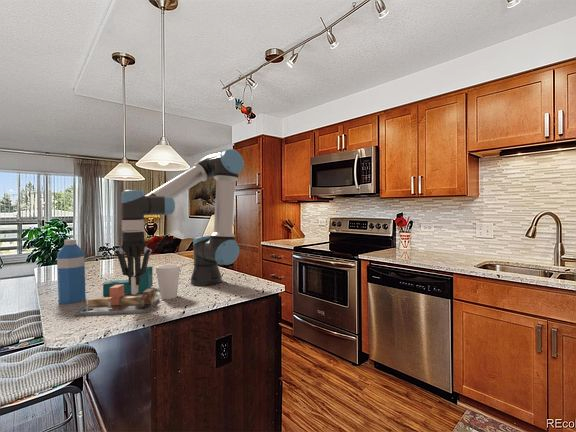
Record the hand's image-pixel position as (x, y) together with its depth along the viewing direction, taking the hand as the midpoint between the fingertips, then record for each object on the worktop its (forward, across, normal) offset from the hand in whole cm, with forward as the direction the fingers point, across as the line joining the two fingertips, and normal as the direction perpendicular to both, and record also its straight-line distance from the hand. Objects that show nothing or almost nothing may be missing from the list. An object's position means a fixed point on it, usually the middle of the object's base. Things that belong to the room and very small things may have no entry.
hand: (135, 293), depth 118 cm
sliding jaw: (+4, +7, +2) cm, 8 cm away
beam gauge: (+4, +5, +2) cm, 7 cm away
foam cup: (+5, -9, -12) cm, 16 cm away
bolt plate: (+5, +5, +1) cm, 7 cm away
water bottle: (+5, +30, -13) cm, 33 cm away
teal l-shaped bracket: (+5, +12, -24) cm, 27 cm away
